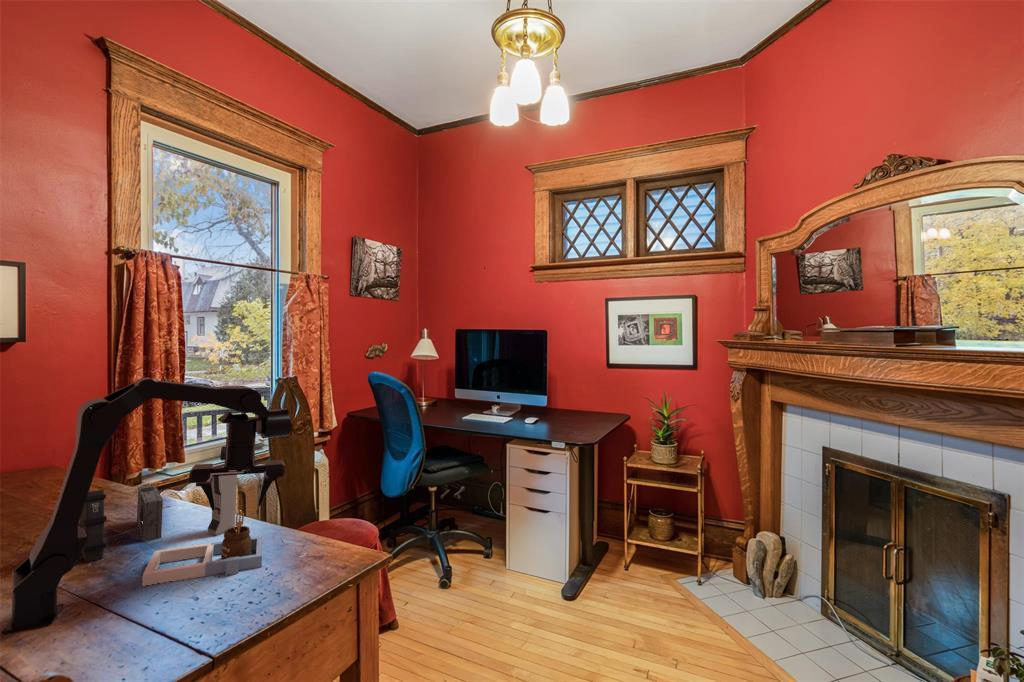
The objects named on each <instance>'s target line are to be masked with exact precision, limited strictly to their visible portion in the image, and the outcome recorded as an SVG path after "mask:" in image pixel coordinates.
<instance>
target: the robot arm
mask: <svg viewBox="0 0 1024 682" xmlns="http://www.w3.org/2000/svg"><path fill="white" fill-rule="evenodd" d="M151 399H156V400H166V401H167V400H168V401H176V402H177V401H178V402H186V403H187V402H188V403H197V404H207V405H215V406H219V407H222V408H226V409H229V410H233V411H237V412H240V413H237V414H236V413H235V414H233V413H232V412H231V411H228V410H227V411H225V412H224V414H222V415H221V416H220V417H219V418H217V421H218V422H220V423H223V424H227V437H226V438H227V446H226V445H225V446H221V447H220V449H221V450H220V458H219V459H220V461H221V462H222V461H225V460H226V464H225V463H224V465H225V467H224V466H221V467H214V463H198V464H197V463H196V464H195V465H193V466H192V468H191V470H190V471H189V473H188V483H189V484H195V487H201V489H202V491H203V493H204V494H205V496H206V498H207V501H208V504H209V506H210V508H211V512H212V511H214V509H215V492H214V476H226V475H237V476H238V475H253V474H263V476H262V477H263V478H262V482H261V487H260V492H259V496H258V505H257V506H258V507H261V506H262V503H263V501H264V498H265V496H266V494H267V492H268V489H269V488H270V487H271V485H272V483H273V482H275V481H276V482H277V481H278V479H279V478H282V477H285V462H284V460H282V459H268V460H266V462H265V464H257V465H256V464H255V457H256V450H255V449H256V435H259V436H260V437H261V439H270V438H271V439H273V438H280V437H288V436H290V435H291V433H292V428H293V423H292V419H291V417H290V414H289V413H290V412H289V411H290V410H289V409H288V408H283V407H282V408H278V409H268V408H267V407H266V406H265V404H264V403H263V401H262V394H261V393H260V392H259V390H258V389H256V388H252V387H249V386H245V385H223V386H222V385H221V386H208V385H200V384H194V383H193V384H192V383H191V384H190V383H184V382H177V381H170V380H168V381H167V380H160V379H155V378H154V379H153V378H151V377H142V378H139V379H137V380H135V381H134V382H133V383H130V384H128V385H127V386H124V387H122V388H120V389H118V390H115V391H113V392H111V393H109V394H107V395H106V396H104V397H95V398H91V399H88V400H86V401H85V402H83V403H82V404H81V405H80V407H79V408H78V410H77V414H76V415H77V416H76V425H75V445H74V449H73V452H72V455H71V457H70V458H71V459H70V460H69V461H70V462H69V464H68V467H67V470H66V473H65V476H64V479H63V481H62V482H63V483H62V485H61V487H60V491H59V495H58V497H57V500H56V504H55V506H54V509H53V512H52V515H51V518H50V520H49V522H48V524H47V525H46V526H45V527H44V529H43V530H42V531H41V533H40V535H39V536H38V537H37V540H36V542H35V543H34V545H33V547H32V548H31V551H30V552H29V556H28V557H27V558H26V559H24V561H23V562H22V563H20V564H19V565H18V566H17V567H16V568H14V569H13V570H12V571H11V576H12V596H11V614H10V615H11V617H10V620H9V621H8V622H7V623H6V624H5V626H4V627H3V628H2V629H1V630H0V634H3V635H4V634H9V633H14V632H21V631H25V630H32V629H36V628H42V627H48V626H50V625H52V624H53V623H54V622H55V621H56V619H57V617H59V615H60V614H61V612H62V611H63V610H64V608H65V606H66V604H65V603H59V604H58V589H59V588H58V586H59V584H60V582H61V581H62V578H63V576H64V575H66V574H67V573H69V572H71V571H72V569H73V568H74V566H75V565H76V562H77V561H78V562H81V561H82V555H81V554H82V552H81V550H82V548H83V546H84V544H85V543H86V540H87V536H86V533H85V531H84V529H83V528H80V527H79V526H78V523H80V517H81V514H82V511H83V508H84V505H85V502H86V499H87V496H88V492H90V488H91V485H92V482H93V481H94V478H95V477H94V476H95V473H96V471H97V467H98V464H99V461H100V459H101V456H102V451H103V450H104V449H105V447H106V445H107V444H108V443H109V441H110V440H111V439H112V437H113V436H114V434H115V432H116V430H117V428H118V427H119V425H120V423H121V421H122V418H125V417H126V416H127V415H129V414H131V413H132V412H134V411H135V410H137V409H138V408H139V407H141V406H142V405H143V404H145V403H147V402H148V401H149V400H151ZM248 414H252V415H255V416H249V415H248ZM231 470H236V471H231Z"/></svg>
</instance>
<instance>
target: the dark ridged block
mask: <svg viewBox="0 0 1024 682" xmlns="http://www.w3.org/2000/svg"><path fill="white" fill-rule="evenodd" d="M104 492H105V491H104V489H99V490H92V491H89V492H88V496H87V499H86V502H85V505H84V508H83V511H82V514H81V517H80V520H79V523H78V527H79V529H80V528H83V529H84V531H85V533H86V536H87V540H86V543H85V544H84V546H83V548H82V550H81V554H82V555H81V556H82V557H83V560H84V562H85V563H90V561H91V562H94V561H93V560H95V561H98V560H97V559H99V560H103V558H104V549H106V548H107V542H105V522H106V521H107V516H105V499H106V498H107V494H106V493H104Z"/></svg>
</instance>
